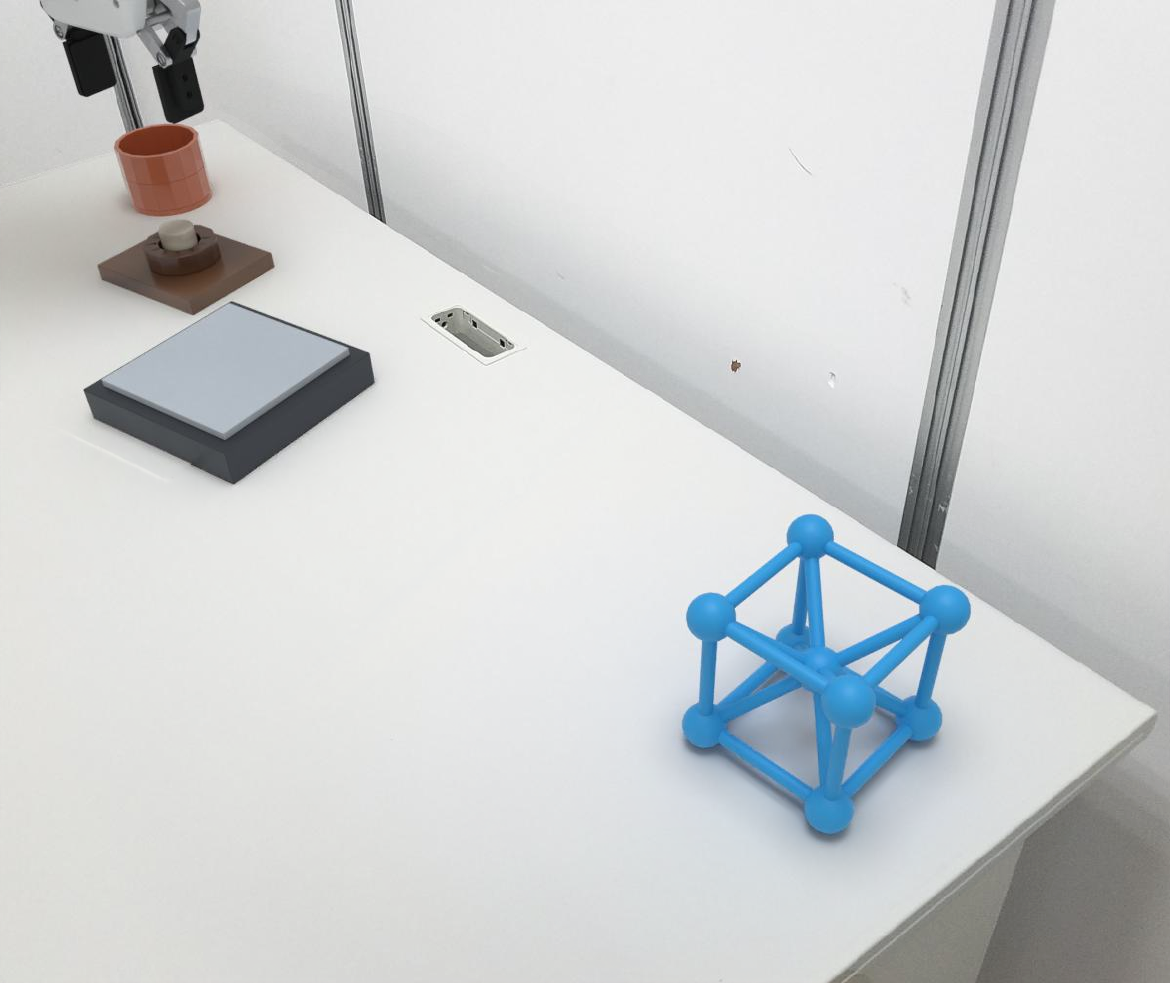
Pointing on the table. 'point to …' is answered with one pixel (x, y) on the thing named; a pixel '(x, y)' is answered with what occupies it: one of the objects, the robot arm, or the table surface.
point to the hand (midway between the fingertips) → (141, 103)
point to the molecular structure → (822, 670)
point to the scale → (230, 389)
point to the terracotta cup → (164, 169)
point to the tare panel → (187, 270)
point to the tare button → (177, 235)
